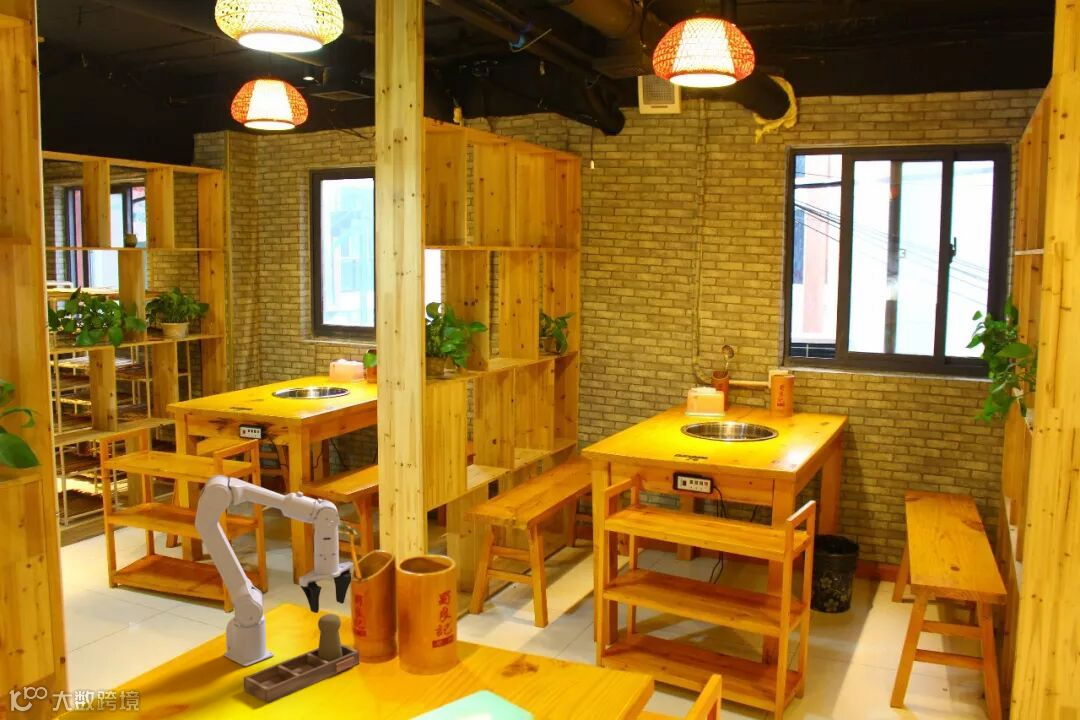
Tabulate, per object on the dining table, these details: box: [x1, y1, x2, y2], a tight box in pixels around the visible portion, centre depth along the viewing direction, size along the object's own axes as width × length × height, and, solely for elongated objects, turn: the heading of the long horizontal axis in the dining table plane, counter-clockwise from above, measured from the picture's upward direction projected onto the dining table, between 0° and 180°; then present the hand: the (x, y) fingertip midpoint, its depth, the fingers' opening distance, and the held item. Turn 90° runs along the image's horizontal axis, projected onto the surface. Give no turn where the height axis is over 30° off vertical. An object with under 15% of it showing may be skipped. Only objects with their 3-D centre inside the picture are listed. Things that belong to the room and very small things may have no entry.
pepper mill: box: [317, 613, 343, 662], centre depth 210 cm, size 6×6×11 cm
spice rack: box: [243, 643, 360, 704], centre depth 204 cm, size 9×25×3 cm, turn 141°
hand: (327, 606), depth 218 cm, fingers open, 7 cm apart
